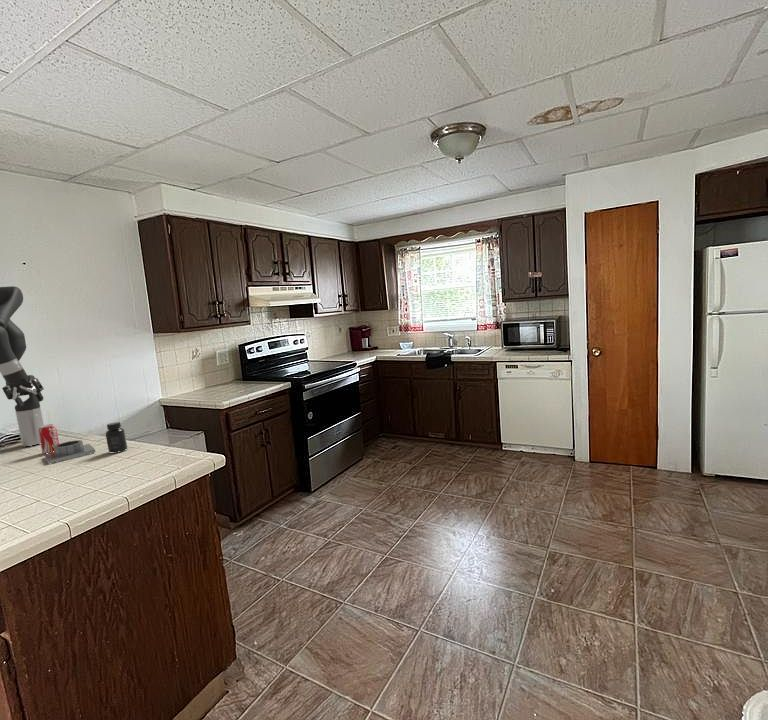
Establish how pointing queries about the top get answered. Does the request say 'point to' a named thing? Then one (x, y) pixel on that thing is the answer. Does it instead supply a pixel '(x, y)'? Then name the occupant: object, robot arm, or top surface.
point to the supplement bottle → (116, 437)
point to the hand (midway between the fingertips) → (31, 403)
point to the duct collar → (69, 451)
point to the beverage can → (48, 438)
